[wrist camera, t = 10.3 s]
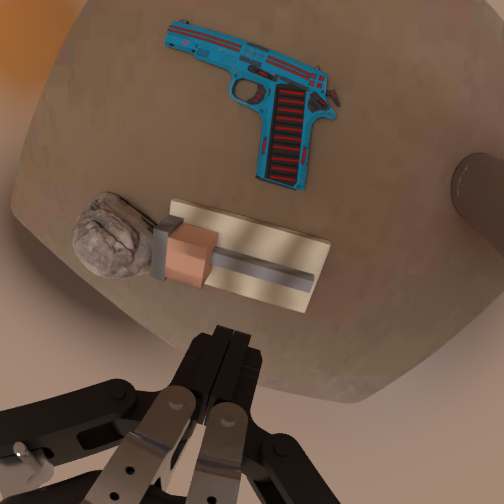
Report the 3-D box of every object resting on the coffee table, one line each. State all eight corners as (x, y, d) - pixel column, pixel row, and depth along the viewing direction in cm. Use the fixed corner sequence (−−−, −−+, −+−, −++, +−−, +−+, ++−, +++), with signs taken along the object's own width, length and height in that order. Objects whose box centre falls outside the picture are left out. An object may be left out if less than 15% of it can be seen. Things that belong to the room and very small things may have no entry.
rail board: (330, 241, 39) (331, 263, 33) (304, 308, 44) (302, 335, 39) (174, 197, 40) (154, 212, 35) (167, 266, 45) (149, 288, 40)
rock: (185, 234, 43) (152, 269, 34) (152, 288, 48) (122, 327, 40) (105, 176, 41) (60, 197, 32) (84, 236, 47) (45, 263, 38)
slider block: (218, 233, 40) (207, 248, 36) (211, 270, 43) (200, 289, 38) (182, 223, 40) (167, 237, 36) (178, 260, 43) (164, 277, 39)
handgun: (300, 195, 37) (356, 87, 30) (298, 202, 35) (359, 85, 28) (142, 123, 37) (182, 20, 30) (131, 125, 35) (172, 16, 27)
